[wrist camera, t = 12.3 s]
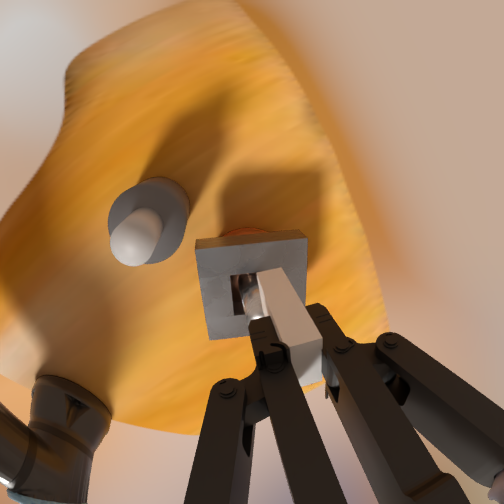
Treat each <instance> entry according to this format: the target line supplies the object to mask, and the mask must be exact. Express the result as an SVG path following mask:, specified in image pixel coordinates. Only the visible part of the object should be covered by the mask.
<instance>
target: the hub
mask: <svg viewBox="0 0 504 504" xmlns="http://www.w3.org/2000/svg"><path fill="white" fill-rule="evenodd" d="M256 233H266V231H264V230H261V229H257V228H241V229H237V230H233V231H231V232H229V233H227V234H225V235H224V236H222V237H226V236H235V235H245V234H256ZM256 273H257V272H254V273H246V274H237V275H230V282H231V292H232V301H240V300H242V303H243V307H244V311H245V315H246V319H247V323H248V325H249V323H250V320H253V319H257V318H262V317H265V315H264V312H263V308H262V303H261V297H260V291H259V285H258V280H257V274H256Z"/></svg>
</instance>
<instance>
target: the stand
mask: <svg viewBox="0 0 504 504" xmlns="http://www.w3.org/2000/svg"><path fill="white" fill-rule="evenodd" d="M189 213H190V204H189V199H188V196H187V194H186V192H185V191H184V189H183V188H182V187H181V186H180V185H179V184H178V183H176V182H175V181H173V180H171V179H169V178H165V177H153V178H150V179H147V180H145V181H143V182H141V183H139V184H137V185H135V186H134V187H132V188H130V189H128V190H126V191H125V192H123V193H122V194H121V195H120V196H119V197H118V198H117V199H116V200H115V202H114V203H113V205H112V207H111V209H110V212H109V217H108V230H109V234H110V237H111V238H110V247H111V250H112V253H113V255H114V256H115V257H116V259H117V260H118V261H120V262H121V263H123V264H125V265H128V266H139V265H142V264H153V263H158V262H161V261H163V260H165V259H167V258H169V257H170V256H171V255H172V254H174V252H175V251H176V250H177V249H178V247H179V246H180V244H181V242H182V239H183V236H184V232H185V229H186V225H187V221H188V217H189Z"/></svg>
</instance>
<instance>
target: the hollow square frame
mask: <svg viewBox="0 0 504 504" xmlns="http://www.w3.org/2000/svg"><path fill="white" fill-rule="evenodd" d="M307 248H308V238H307V237H306V236H305V235H304V234H303V233H302V232H301V231H300V230H299V229H298V230H287V231H276V232H266V233H256V234H245V235H235V236H226V237H216V238H207V239H197V240H196V245H195V254H196V261H197V268H198V275H199V281H200V288H201V294H202V300H203V306H204V312H205V318H206V323H207V329H208V334H209V340H218V339H227V338H235V337H243V336H250V334H249V330H248V326H249V325H248V323H247V319H246V315H245V311H244V307H243V303H242V300H240V301H232V292H231V282H230V275H237V274H246V273H254V272H262V271H267V270H271V269H276V268H280V267H281V268H282V269H283V271H284V273H285V274H286V276H287V278H288V279H289V281H290V283H291V285H292V286H293V288H294V290H295V291H296V293H297V295H298V296H299V298H300V300H301V302H302V303H303V305H304V306H305V299H306V278H307Z"/></svg>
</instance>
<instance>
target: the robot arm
mask: <svg viewBox="0 0 504 504" xmlns="http://www.w3.org/2000/svg"><path fill="white" fill-rule="evenodd" d="M256 274H257V280H258V285H259V291H260V297H261V303H262V308H263V312H264V315H265V317H262V318H257V319H253V320H250V323H249V326H248V330H249V334H250V339H251V343H252V347H253V352H254V356H255V360H256V368H255V370H254V372H253V373H252V374H251V375H250V376H248V377H246V378H245V379H242V380H240V381H239V380H237V379H233V378H227V379H222V380H220V381H218V382H217V383H216V384H215V385H213V387H212V389H211V391H210V395H209V400H208V404H207V408H206V412H205V416H204V420H203V424H202V428H201V432H200V437H199V441H198V445H197V449H196V453H195V457H194V462H193V466H192V470H191V474H190V478H189V483H188V487H187V491H186V496H185V500H184V504H247V503H248V494H249V485H250V476H251V467H252V457H253V447H254V437H255V425H256V423H257V422H259V421H261V420H263V419H265V418H267V417H269V416H270V420H271V424H272V427H273V431H274V435H275V439H276V442H277V446H278V450H279V453H280V457H281V460H282V464H283V468H284V471H285V475H286V478H287V482H288V486H289V489H290V493H291V496H292V499H293V502H294V504H347V502H346V499H345V497H344V494H343V491H342V489H341V486H340V484H339V481H338V479H337V477H336V474H335V471H334V469H333V467H332V464H331V461H330V459H329V457H328V454H327V452H326V449H325V446H324V444H323V441H322V439H321V436H320V434H319V431H318V429H317V426H316V424H315V422H314V419H313V416H312V414H311V411H310V409H309V406H308V404H307V401H306V399H305V396H304V393H303V391H302V388H301V387H302V386H306V385H309V384H313V383H316V382H319V381H322V374H323V376H324V378H325V380H326V387H325V398H326V399H327V398H328V394H329V396H330V399H331V401H332V403H333V405H334V407H335V409H336V411H337V414H338V416H339V418H340V420H341V422H342V424H343V426H344V428H345V431H346V433H347V435H348V437H349V439H350V441H351V443H352V446H353V448H354V450H355V452H356V454H357V457H358V459H359V461H360V463H361V465H362V468H363V470H364V472H365V474H366V476H367V478H368V481H369V483H370V485H371V487H372V489H373V491H374V494H375V496H376V498H377V500H378V502H379V504H470V502H469V500H468V498H467V497H466V495H465V494H464V491H463V490H462V488H461V486H460V485H459V483H458V481H457V480H456V479H455V477H454V476H452V475H451V474H449V473H443V472H442V471H440V469H439V468H438V466H437V465H436V463H435V462H434V460H433V458H432V456H431V455H430V453H429V452H428V450H427V448H426V447H425V445H424V443H423V442H422V440H421V439H420V437H419V435H418V434H417V433H416V431H415V429H416V430H417V431H418V432H419V433H421V434H422V435H423V436H424V437H425V438H426V439H427V440H428V441H429V442H431V443H432V444H433V445H434V446H435V447H436V448H437V449H438V450H439V451H441V452H442V453H443V454H444V455H445V456H446V457H447V458H448V459H450V460H451V461H452V462H453V463H454V464H455V465H456V466H457V467H459V468H460V469H461V470H462V471H463V472H464V473H465V474H467V475H468V476H469V477H470V478H471V479H473V480H474V481H476V482H477V483H479V484H481V485H483V486H486V487H489V488H491V489H490V490H489V493H488V498H489V499H490V500H495V501H497V502H499V504H504V410H503V409H502V408H501V407H499V406H498V405H497V404H495V403H494V402H493V401H491V400H490V399H488V398H487V397H486V396H484V395H483V394H481V393H480V392H479V391H478V390H476V389H475V388H474V387H472V386H471V385H470V384H468V383H467V382H465V381H464V380H463V379H461V378H460V377H459V376H457V375H456V374H454V373H453V372H452V371H450V370H449V369H448V368H446V367H445V366H443V365H442V364H441V363H439V362H438V361H436V360H435V359H433V358H432V357H431V356H429V355H428V354H427V353H425V352H424V351H422V350H421V349H420V348H418V347H417V346H415V345H414V344H413V343H411V342H410V341H408V340H407V339H405V338H404V337H402V336H401V335H399V334H397V333H393V332H387V333H383V334H381V335H380V336H379V337H378V338H377V340H376V343H366V344H359V343H357V342H356V341H354V340H353V339H351V338H349V337H346V336H345V335H344V333H343V332H342V330H341V329H340V327H339V326H338V325H337V323H336V322H335V320H334V319H333V317H332V316H331V314H330V313H329V311H328V310H327V309H326V307H324V306H323V305H321V304H319V303H316V304H312V305H308V306H304V305H303V303H302V302H301V300H300V298H299V296H298V295H297V293H296V291H295V290H294V288H293V286H292V285H291V283H290V281H289V279H288V278H287V276H286V274H285V273H284V271H283V269H282V268H281V267H280V268H276V269H271V270H267V271H262V272H257V273H256ZM30 414H31V415H30V421H29V424H28V427H27V426H26V425H25V424H24V423H23V422H22V421H21V420H19V419H18V418H17V417H16V416H15V415H14V414H13V413H12V412H10V411H9V410H8V409H7V408H6V407H5V406H4V405H3V404H2V403H1V402H0V483H1V484H2V485H4V486H5V487H7V488H8V489H7V494H8V497H9V498H11V499H12V500H14V501H16V502H18V503H20V504H87V494H88V487H89V480H90V473H91V467H92V461H93V456H94V452H95V451H96V449H97V448H98V446H99V445H100V443H101V442H102V440H103V438H104V437H105V435H106V434H107V433H108V431H109V428H110V423H111V415H110V413H109V411H108V409H107V408H106V407H105V405H104V404H103V403H102V402H101V401H100V400H99V399H98V398H96V397H95V396H94V395H93V394H91V393H90V392H88V391H87V390H85V389H84V388H82V387H80V386H79V385H77V384H75V383H73V382H71V381H68V380H66V379H63V378H60V377H56V376H50V375H45V376H41V377H39V378H38V379H37V380H36V382H35V384H34V386H33V388H32V402H31V413H30ZM413 427H414V428H415V429H414V428H413Z"/></svg>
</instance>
